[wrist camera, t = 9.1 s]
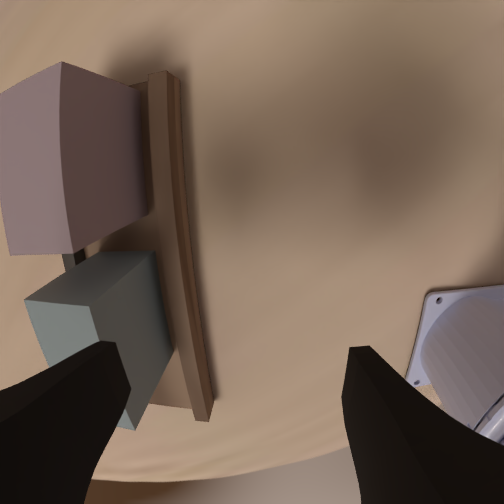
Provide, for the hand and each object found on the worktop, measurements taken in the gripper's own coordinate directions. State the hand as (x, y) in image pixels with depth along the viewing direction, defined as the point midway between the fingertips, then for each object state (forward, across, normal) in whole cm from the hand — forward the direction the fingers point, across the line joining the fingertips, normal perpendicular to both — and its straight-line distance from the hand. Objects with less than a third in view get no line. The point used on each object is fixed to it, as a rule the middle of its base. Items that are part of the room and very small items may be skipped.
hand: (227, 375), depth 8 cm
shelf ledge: (+9, +8, 0) cm, 12 cm away
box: (+8, +8, -7) cm, 13 cm away
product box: (+8, +7, +2) cm, 11 cm away
